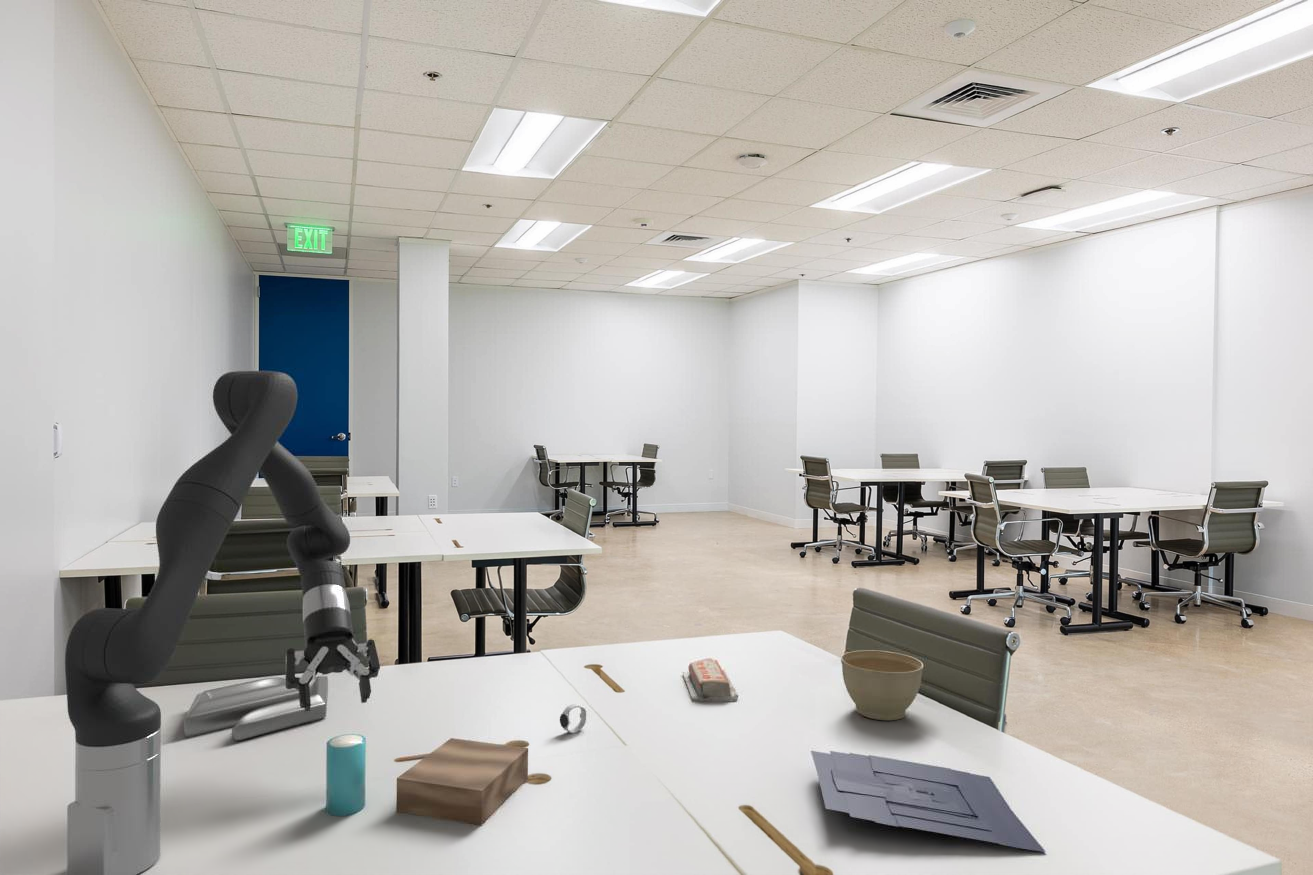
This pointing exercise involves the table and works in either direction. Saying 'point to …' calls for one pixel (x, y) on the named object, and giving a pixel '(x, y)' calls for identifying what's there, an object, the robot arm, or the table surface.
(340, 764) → the tumbler
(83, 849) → the robot arm
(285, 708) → the emblem
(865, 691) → the planter bowl
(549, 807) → the table surface
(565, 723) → the wristwatch
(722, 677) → the packaged product
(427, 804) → the wooden square base
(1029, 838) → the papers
